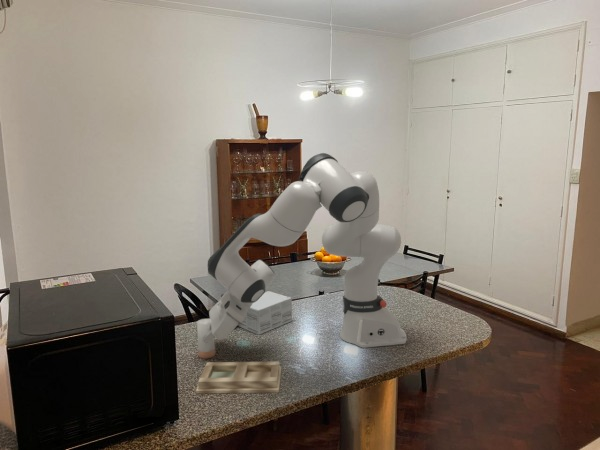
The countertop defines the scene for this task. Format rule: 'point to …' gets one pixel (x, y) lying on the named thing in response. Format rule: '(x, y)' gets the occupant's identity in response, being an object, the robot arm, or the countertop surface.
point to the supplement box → (268, 313)
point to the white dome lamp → (203, 348)
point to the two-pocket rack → (240, 377)
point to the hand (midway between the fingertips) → (203, 337)
